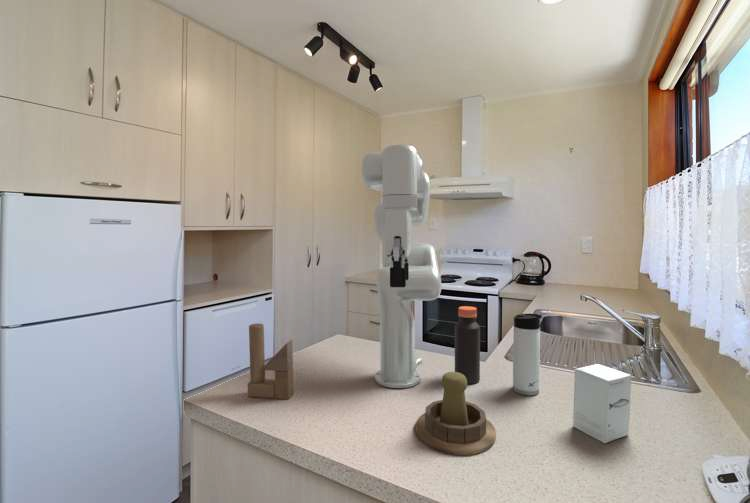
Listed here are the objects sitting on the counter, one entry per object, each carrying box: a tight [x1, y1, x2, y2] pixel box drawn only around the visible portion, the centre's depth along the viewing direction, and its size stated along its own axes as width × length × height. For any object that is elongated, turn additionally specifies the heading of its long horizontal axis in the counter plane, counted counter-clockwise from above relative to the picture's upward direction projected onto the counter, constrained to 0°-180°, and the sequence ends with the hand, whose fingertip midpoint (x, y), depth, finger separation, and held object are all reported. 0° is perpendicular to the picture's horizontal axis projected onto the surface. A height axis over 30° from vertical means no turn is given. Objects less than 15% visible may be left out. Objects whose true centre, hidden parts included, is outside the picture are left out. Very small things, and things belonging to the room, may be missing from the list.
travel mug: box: [512, 313, 543, 397], centre depth 95 cm, size 6×7×20 cm
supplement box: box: [572, 363, 632, 444], centre depth 76 cm, size 7×7×13 cm
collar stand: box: [415, 399, 497, 456], centre depth 77 cm, size 16×16×4 cm
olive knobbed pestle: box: [440, 371, 469, 426], centre depth 77 cm, size 6×6×11 cm
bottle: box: [454, 305, 481, 385], centre depth 103 cm, size 7×7×20 cm
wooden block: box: [247, 323, 294, 400], centre depth 94 cm, size 4×11×18 cm, turn 82°
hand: (399, 283), depth 82 cm, fingers open, 9 cm apart
